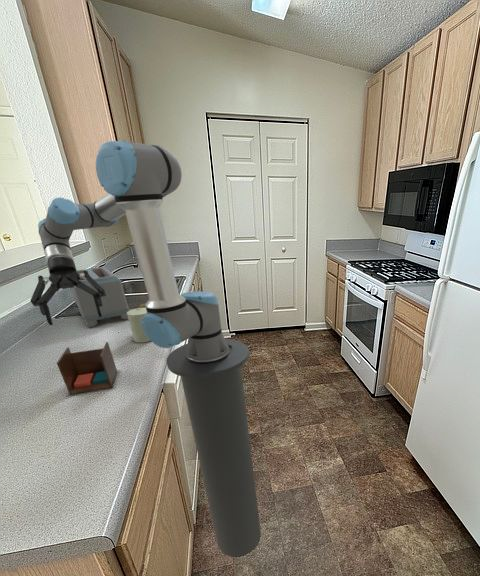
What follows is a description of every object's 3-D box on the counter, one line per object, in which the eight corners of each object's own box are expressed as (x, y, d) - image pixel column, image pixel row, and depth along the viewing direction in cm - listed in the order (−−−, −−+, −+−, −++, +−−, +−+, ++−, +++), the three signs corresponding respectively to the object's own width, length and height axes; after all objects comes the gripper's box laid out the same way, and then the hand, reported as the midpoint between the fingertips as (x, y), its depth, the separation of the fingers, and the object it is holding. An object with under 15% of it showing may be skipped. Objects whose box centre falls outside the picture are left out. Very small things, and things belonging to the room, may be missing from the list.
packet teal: (112, 373, 109) (111, 369, 108) (109, 381, 104) (108, 378, 103) (97, 375, 108) (96, 372, 107) (93, 384, 103) (92, 381, 102)
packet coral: (94, 375, 107) (93, 372, 107) (90, 385, 102) (89, 381, 102) (79, 378, 106) (78, 375, 106) (74, 387, 101) (73, 384, 101)
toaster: (116, 302, 181) (105, 264, 171) (132, 319, 157) (120, 275, 148) (77, 310, 171) (63, 270, 161) (87, 328, 147) (72, 283, 138)
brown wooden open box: (117, 371, 111) (107, 341, 106) (112, 387, 102) (101, 356, 97) (78, 377, 108) (66, 347, 103) (69, 395, 99) (56, 362, 94)
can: (154, 331, 142) (148, 304, 136) (160, 338, 135) (154, 310, 130) (131, 337, 137) (123, 309, 132) (136, 344, 131) (128, 315, 125)
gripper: (105, 264, 118) (120, 316, 114) (18, 274, 107) (31, 332, 103) (101, 251, 112) (117, 306, 107) (9, 260, 101) (22, 321, 96)
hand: (75, 319), depth 105 cm, fingers open, 13 cm apart
